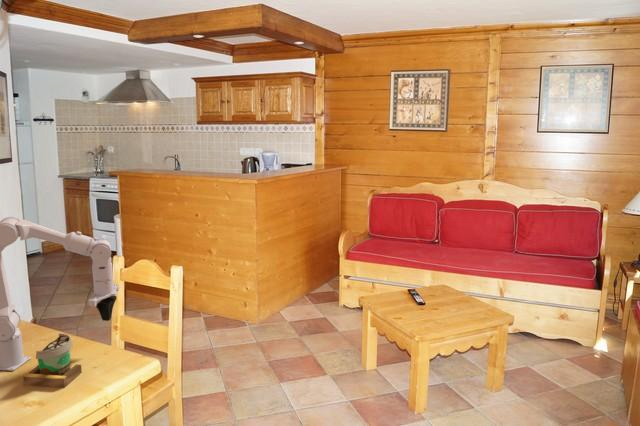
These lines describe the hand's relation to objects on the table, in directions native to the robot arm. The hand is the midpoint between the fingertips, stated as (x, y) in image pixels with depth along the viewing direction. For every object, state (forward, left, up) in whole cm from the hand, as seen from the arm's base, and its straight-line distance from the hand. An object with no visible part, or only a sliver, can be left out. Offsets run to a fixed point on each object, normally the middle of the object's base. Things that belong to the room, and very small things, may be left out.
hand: (106, 319), depth 159 cm
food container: (-5, -17, -10) cm, 20 cm away
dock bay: (-6, -20, -10) cm, 23 cm away
